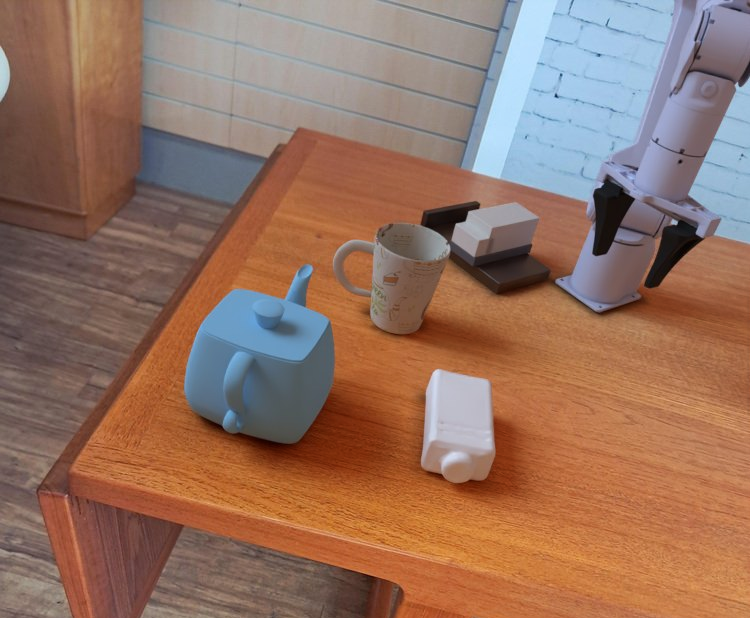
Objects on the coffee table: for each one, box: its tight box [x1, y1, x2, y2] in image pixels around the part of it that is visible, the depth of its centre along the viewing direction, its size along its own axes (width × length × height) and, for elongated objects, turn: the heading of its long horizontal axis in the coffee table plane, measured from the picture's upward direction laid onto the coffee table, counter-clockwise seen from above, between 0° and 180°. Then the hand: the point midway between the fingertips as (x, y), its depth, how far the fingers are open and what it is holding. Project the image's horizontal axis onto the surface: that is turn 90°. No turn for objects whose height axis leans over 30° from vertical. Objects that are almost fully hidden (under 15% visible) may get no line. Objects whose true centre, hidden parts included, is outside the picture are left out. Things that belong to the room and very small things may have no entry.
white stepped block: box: [449, 201, 540, 267], centre depth 103 cm, size 11×5×5 cm, turn 128°
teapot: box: [183, 263, 336, 445], centre depth 73 cm, size 12×18×12 cm
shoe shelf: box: [419, 200, 552, 295], centre depth 105 cm, size 10×16×4 cm, turn 38°
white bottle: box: [420, 368, 497, 484], centre depth 76 cm, size 6×13×4 cm, turn 175°
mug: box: [332, 222, 450, 335], centre depth 88 cm, size 8×13×10 cm, turn 78°
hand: (624, 269), depth 88 cm, fingers open, 7 cm apart
